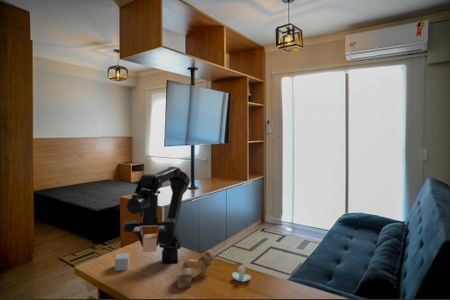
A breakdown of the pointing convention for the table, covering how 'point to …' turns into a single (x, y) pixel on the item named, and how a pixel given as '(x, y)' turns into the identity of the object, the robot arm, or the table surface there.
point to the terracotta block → (149, 242)
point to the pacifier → (241, 275)
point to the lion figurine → (200, 262)
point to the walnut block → (184, 277)
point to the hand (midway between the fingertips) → (150, 246)
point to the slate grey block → (122, 262)
